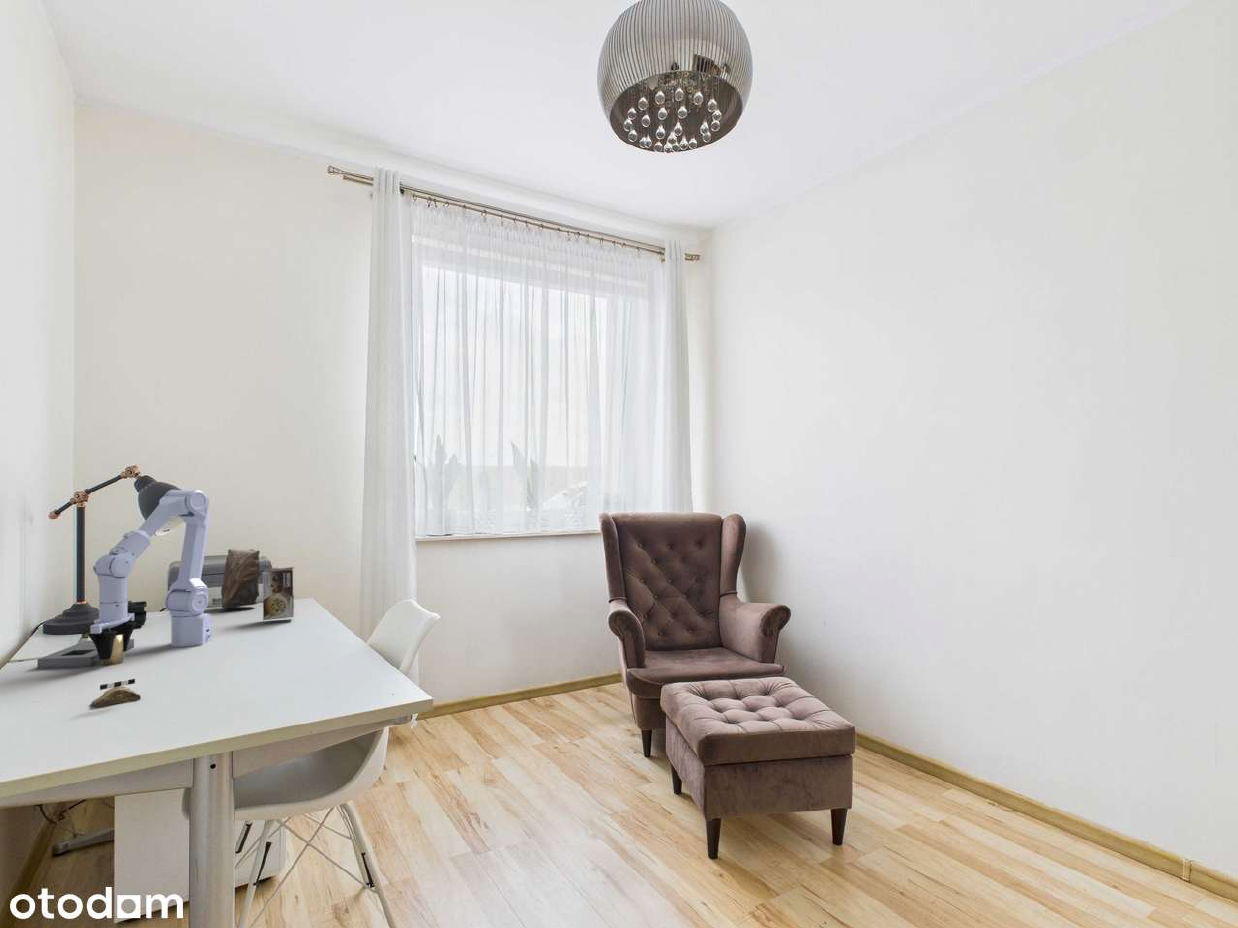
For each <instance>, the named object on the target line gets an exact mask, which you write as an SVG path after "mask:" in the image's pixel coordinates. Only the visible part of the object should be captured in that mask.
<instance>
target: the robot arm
mask: <svg viewBox="0 0 1238 928" xmlns="http://www.w3.org/2000/svg"><path fill="white" fill-rule="evenodd" d="M210 500H211V499H210V498H209V496H207V495H206V493H205V492H204V491H202V490H200V489H194V490H193V489H192V490H191V489H190V490H187V489H186V490H185V489H183V490H182V489H180V490H177V489H170V490H168V491H167V492H166V493H165V494H164V496H162V497H161V498H160V499H159V501H158V502H159V504H158V505H157V506H156V507H155V509H154V510H153V511H152V513H151V514H150V515H149V516H148V517H147V518H146V520H145V521H144V522H143V523H142V525H141V526H139V528H138V529H137V530H130V531H128V532H125V533H124V534H123V535H122V539H121V540H119V542H118V543H117V544H116V545H115V546H113V547H112V548H111V549H110V550H109V552H108V554H106V553H105V554H104V555H101V556H100V557H99V558H98V559H97V560H96V562H95V565H94V566H92V571H93V572H94V574H95V575H96V577H97V582H98V587H99V589H98V590H99V591H98V594H99V595H98V597H99V598H98V618H97V619H94V620H93V623H94V624H92V625H90V631H89V632H88V638H89V639H91V640H90V641H93V643H94V644H95V646H96V649H97V652H98V655H99V658H100V660H104V659H110V658H111V655H112V647H113V642H114V639H115V636H116V634H123V653H126V652H127V651H126V650H127V646H128V643H129V639H131V638H132V637H131V636H132V634H133V632H134V630H135V629H136V627H137V626H136V625H137V623H136V622H130V621H134V613H127V605H128V601H129V600H128V591H129V590H128V588H129V587H128V584H129V583H128V581H129V580H128V576H129V575H130V574H131V573H133V570H134V569H135V564H136V562H137V559H139V557H140V556H141V555H142V554H143V553H144V552H145V551H146V550H147V548H148V547H150V545H151V543H152V542H151V537H152V536H153V535H155V533H157V532H158V531H159V530H160V529H161V528H162V527H163V526H164V525H165V524H166V523H167V522H169V520H170V519H172V518H173V517H178V518H180V519H181V520H182V521H183V522H184V523H185V524H186V525H185V530H184V531H185V532H184V539H183V544H182V549H181V550H182V551H181V556H180V563H179V564H180V565H179V571H178V577H177V579H176V580H175V581H174V582H172V583H171V585H170V586H169V591H168V593H167V595H166V596H165V599H164V607H165V608H166V610H167V611H169V615H170V616H171V618H170V619H171V622H170V623H171V626H170V628H171V629H170V630H171V633H170V634H171V636H170V637H171V641H170V642H171V646H172V647H176V648H177V647H188V646H204V645H206V644H208V643H210V642H214V640H215V639H213V624H214V623H213V617H212V614H210V613H204V612H205V610H206V609H207V607H208V605H209V596H208V585H206V584H205V583H204V581H202V574H203V567H204V561H205V555H206V554H205V553H206V546H207V541H208V540H207V539H208V535H209V529H210V520H211V517H210V513H209V512H210V511H209V507H210V506H209V505H210Z"/></svg>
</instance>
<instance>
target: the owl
mask: <svg viewBox="0 0 1238 928" xmlns="http://www.w3.org/2000/svg"><path fill="white" fill-rule="evenodd" d="M227 553H228V554H227V556H226V559H225V560H226V561H225V564H224V572H223V573H224V574H223V578H222V579H223V580H222V585H221V590H220V593H221V608H222V610H223V609H225V610H226V609H231V608H232V609H233V608H239V607H240V608H241V607H247V606H255V605H258V602H257V599H258V597H259V596H260V590H259V587H260V585H259V580H260V578H261V575H262V571H261V568H260V558H259V557H260V553H261V551H260V550H255V549H246V550H245V549H235V548H231V549H230V548H229V549H228V550H227Z"/></svg>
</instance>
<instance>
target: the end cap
mask: <svg viewBox="0 0 1238 928" xmlns="http://www.w3.org/2000/svg"><path fill="white" fill-rule="evenodd" d="M145 608H147V601H145V600H143V601H133V602H132V600H128V605H127V613H134V621H130V622H136V623H137V625H136V627H137V626H138V627H139V626H144V625H145V623H146V622H147V610H145Z"/></svg>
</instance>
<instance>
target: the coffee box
mask: <svg viewBox="0 0 1238 928" xmlns="http://www.w3.org/2000/svg"><path fill="white" fill-rule="evenodd" d="M294 568H295V567H294V566H291V567H290V566H289V567H276V568H275V567H274V568H273V567H272V568H264V570H263V571H262V599H263V601H262V605H263V606H262V610H263V611H262V613H263V614H262V615H263V619H262V620H263V621H268V620H278V619H289V618H290V619H291V618H294V617H295V584H294V582H295V577H294V573H295V571H294Z"/></svg>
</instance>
